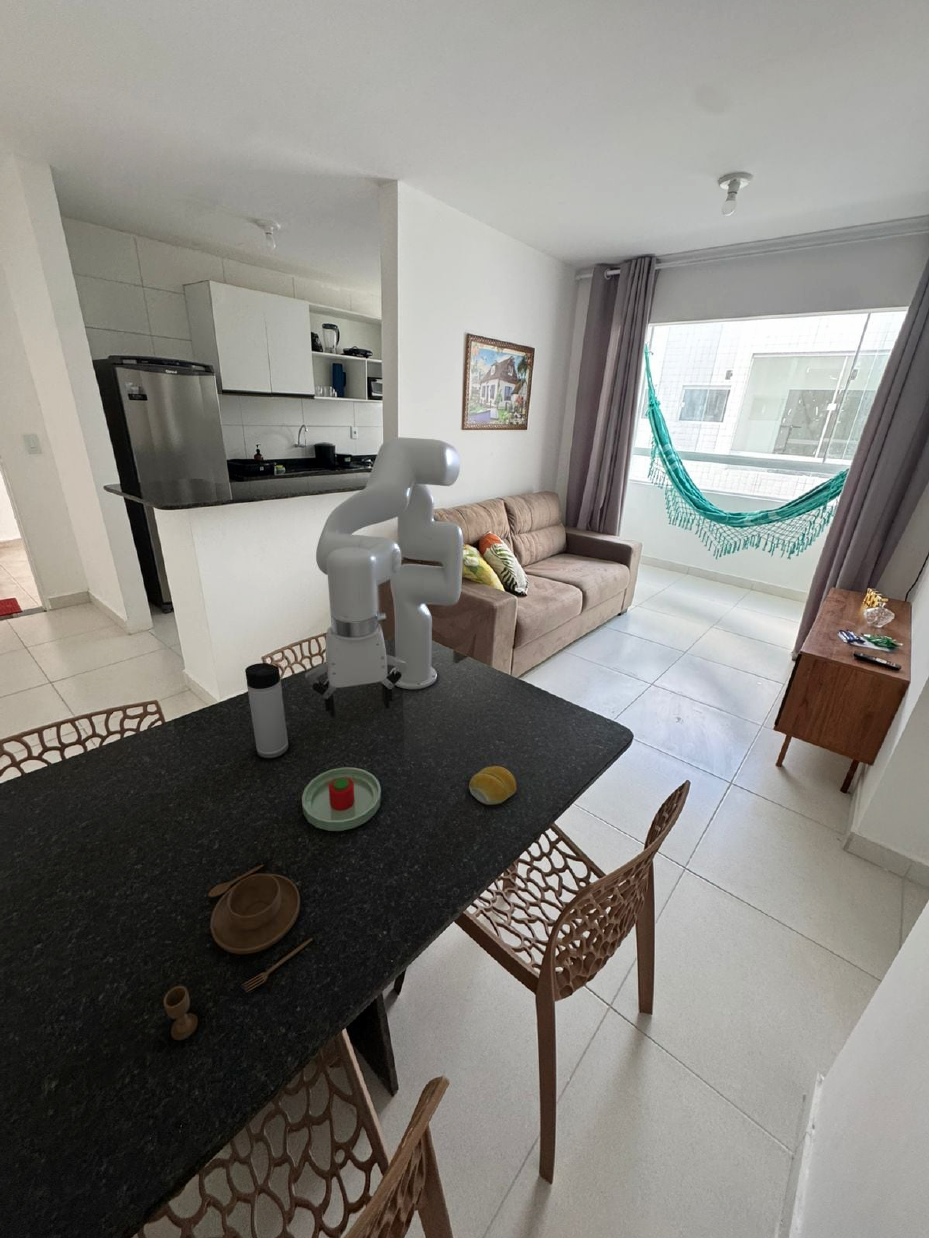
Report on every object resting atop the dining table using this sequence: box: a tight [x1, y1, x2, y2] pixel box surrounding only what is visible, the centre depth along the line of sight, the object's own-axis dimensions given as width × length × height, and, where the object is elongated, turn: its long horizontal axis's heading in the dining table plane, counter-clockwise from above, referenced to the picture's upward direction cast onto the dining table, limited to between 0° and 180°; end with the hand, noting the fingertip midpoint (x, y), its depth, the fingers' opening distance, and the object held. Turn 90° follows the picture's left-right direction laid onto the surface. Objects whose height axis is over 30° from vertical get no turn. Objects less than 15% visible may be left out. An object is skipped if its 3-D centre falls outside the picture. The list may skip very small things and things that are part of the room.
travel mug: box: [244, 662, 289, 759], centre depth 104 cm, size 6×7×20 cm
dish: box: [301, 766, 382, 832], centre depth 94 cm, size 14×14×3 cm
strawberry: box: [329, 777, 355, 811], centre depth 93 cm, size 4×4×5 cm
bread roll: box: [468, 765, 517, 806], centre depth 99 cm, size 8×9×4 cm
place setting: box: [163, 864, 313, 1041], centre depth 70 cm, size 18×20×6 cm
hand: (359, 708), depth 92 cm, fingers open, 9 cm apart
